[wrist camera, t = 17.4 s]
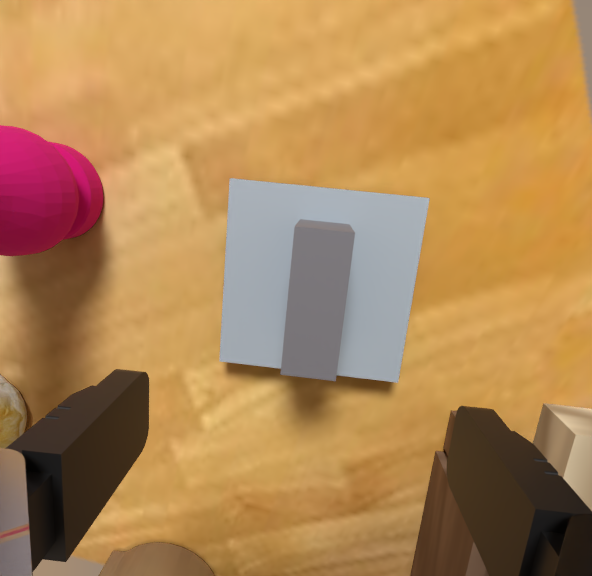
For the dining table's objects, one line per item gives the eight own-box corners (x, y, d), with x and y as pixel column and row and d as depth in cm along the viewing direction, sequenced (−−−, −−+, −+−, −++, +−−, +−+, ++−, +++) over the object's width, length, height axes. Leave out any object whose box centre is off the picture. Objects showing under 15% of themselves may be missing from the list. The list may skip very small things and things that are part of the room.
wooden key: (514, 512, 20) (540, 556, 18) (543, 403, 19) (575, 434, 16) (564, 519, 20) (596, 563, 18) (597, 409, 19) (637, 442, 16)
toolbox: (409, 580, 33) (440, 724, 24) (444, 409, 30) (495, 505, 21) (561, 601, 33) (649, 756, 24) (615, 430, 29) (744, 537, 20)
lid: (227, 349, 30) (197, 397, 23) (237, 179, 27) (206, 175, 20) (392, 368, 29) (413, 424, 22) (421, 197, 27) (455, 200, 20)
